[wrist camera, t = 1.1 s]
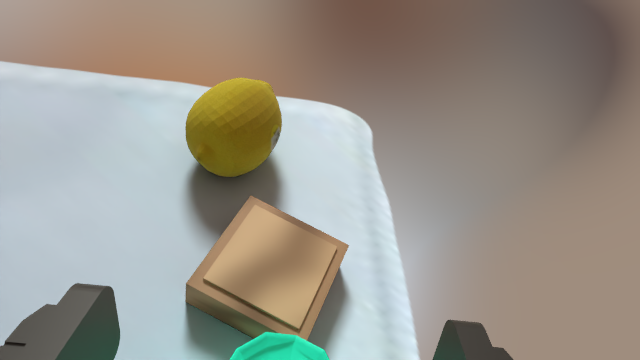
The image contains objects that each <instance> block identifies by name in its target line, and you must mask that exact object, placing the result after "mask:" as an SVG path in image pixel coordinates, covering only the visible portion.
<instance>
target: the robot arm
mask: <svg viewBox="0 0 640 360" xmlns="http://www.w3.org/2000/svg"><path fill="white" fill-rule="evenodd" d="M119 341H120V328H119V322H118V316H117V309H116V303H115V297H114V292H113V289H112V288H111V287H110V286H100V285H90V284H79V283H77V284H74V285H73V286H72V287H71V288H70V289H69V290H68V291H67V293H66V294H65V295H64V296H63V298H62V299H61V300H60V302H59V303H58V304H57V305H50V304H46V305H45V306H43V307H42V308H40V309H39V310H37V311H36V312H34V313H33V314H32V315H30V316H29V317H27V318H26V319H24V320H23V321H22V322H21V323H20V324H19V325H18V327H17V328H16V329H15V330H14V331H13V333H12V334H11V335H10V336H9V337H8V338H7V340H6V341H5V344H4V346H1V347H0V360H114V358H115V355H116V353H117V350H118V346H119ZM433 360H513V359H512V358H511V357H510V355H509V354H508V353H507V352H506V351H505V350H504V349H503V348H498V347H492V345H491V342H490V340H489V338H488V335H487V333H486V331H485V329H484V327H483V325H482V324H481V323H477V322H466V321H455V320H448V321H447V322H446V323H445V326H444V328H443V331H442V334H441V337H440V340H439V343H438V346H437V349H436V352H435V355H434V357H433Z"/></svg>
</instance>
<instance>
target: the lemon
mask: <svg viewBox="0 0 640 360" xmlns="http://www.w3.org/2000/svg"><path fill="white" fill-rule="evenodd" d="M281 126H282V119H281V112H280V108H279V104H278V101H277V99H276V96H275V95H274V92H273V89H272V87H271V85H270V84H268V83H266V82H264V81H261V80H251V79H247V78H235V79H230V80H227V81H224V82H222V83H219V84H218V85H216V86H214V87H213V88H211V89H210V90H208V91H207V92H206V93H204V94H203V95H202V96H201V97H200V98H199V99H198V100H197V101H196V102H195V104H194V105H193V107H192V108H191V110H190V112H189V113H188V117H187V121H186V141H187V144H188V147H189V149H190V151H191V153H192V155H193V156H194V158H195V159H196V160H197V161H198V162H199V163H200V164H201V165H202V166H203V167H204V168H205V169H206V170H208V171H210V172H212V173H214V174H216V175H219V176H225V177H235V176H239V175H242V174H245V173H247V172H250V171H252V170H254V169H255V168H257V167H258V166H259V165H260V164H261V163H263V162H264V161H265V160H266V158H267V157H268V156H269V155H270V153H271V152H272V150H273V149H274V147H275V145H276V143H277V141H278V138H279V136H280V132H281Z"/></svg>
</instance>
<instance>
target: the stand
mask: <svg viewBox="0 0 640 360" xmlns="http://www.w3.org/2000/svg"><path fill="white" fill-rule="evenodd" d="M348 246H349V245H347V244H345V243H343V242H341V241H340V240H338V239H336V238H334V237H332V236H330V235H328V234H326V233H324V232H322V231H320V230H318V229H316V228H314V227H312V226H310V225H308V224H306V223H304V222H302V221H300V220H298V219H296V218H294V217H292V216H290V215H288V214H286V213H284V212H282V211H281V210H279V209H277V208H275V207H273V206H271V205H269V204H267V203H265V202H263V201H261V200H259V199H257V198H255V197H253V196H251V195H250V197H249V198H248V200H247V201H246V202H245V204H244V205H243V206H242V208H241V209H240V211H239V212H238V213H237V215H236V216H235V217H234V219H233V220H232V222H231V223H230V224H229V226H228V227H227V228H226V230H225V231H224V232H223V234H222V235H221V237H220V238H219V239H218V241H217V242H216V243H215V245H214V246H213V248H212V249H211V250H210V252H209V253H208V254H207V256H206V257H205V258H204V260H203V261H202V263H201V264H200V265H199V267H198V268H197V269H196V271H195V272H194V274H193V275H192V276H191V278H190V279H189V280H188V282H187V283H186V302H187V303H189V304H191V305H192V306H194V307H196V308H198V309H200V310H202V311H204V312H205V313H207V314H209V315H211V316H213V317H215V318H217V319H219V320H220V321H222V322H224V323H226V324H228V325H230V326H232V327H233V328H235V329H237V330H239V331H241V332H243V333H245V334H246V335H248V336H250V337H252V338H256V337H258V336H260V335H262V334H263V333H265V332H271V333H281V334H290V335H297V336H299V337H301V338H303V339H304V340H306V341H307V339H308V337H309V335H310V332H311V330H312V328H313V326H314V323H315V321H316V319H317V317H318V314H319V312H320V310H321V307H322V305H323V303H324V301H325V298H326V296H327V294H328V292H329V289H330V287H331V285H332V283H333V280H334V278H335V276H336V273H337V271H338V269H339V267H340V264H341V262H342V260H343V258H344V255H345V253H346V251H347V248H348Z"/></svg>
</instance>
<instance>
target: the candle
mask: <svg viewBox="0 0 640 360" xmlns="http://www.w3.org/2000/svg"><path fill="white" fill-rule="evenodd" d="M230 360H329V358H328V356H327V354H326V352H325V350H323V349H322V348H320V347H318V346H316V345H314V344H312V343H310V342H308V341H306V340H304V339H303V338H301V337H299V336H297V335H290V334H281V333H271V332H265V333H263V334H262V335H260V336H258V337H256V338H254V339H253V340H251V341H249V342H247V343H246V344H244V345H242V346H240V347H238V348H237V349H236V350H235V352H234V353H233V355H232V357H231V358H230Z"/></svg>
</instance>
